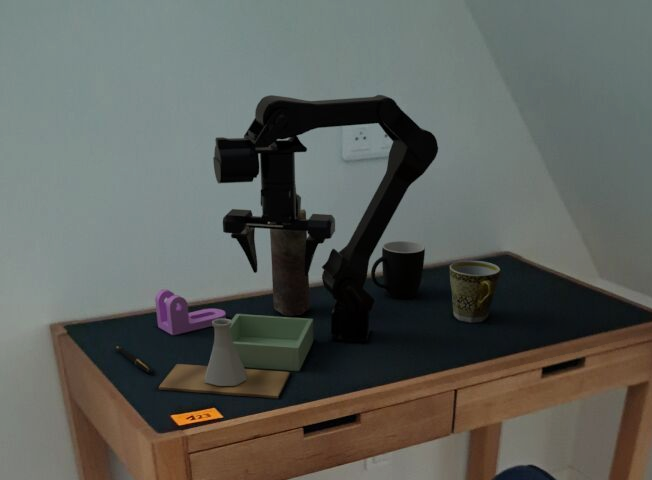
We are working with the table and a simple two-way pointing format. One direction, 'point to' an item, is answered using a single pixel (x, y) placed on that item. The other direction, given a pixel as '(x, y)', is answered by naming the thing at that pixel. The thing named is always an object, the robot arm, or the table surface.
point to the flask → (224, 358)
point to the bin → (271, 341)
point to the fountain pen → (135, 360)
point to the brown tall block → (289, 270)
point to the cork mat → (254, 386)
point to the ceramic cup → (473, 289)
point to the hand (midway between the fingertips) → (281, 273)
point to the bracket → (182, 314)
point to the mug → (401, 268)
